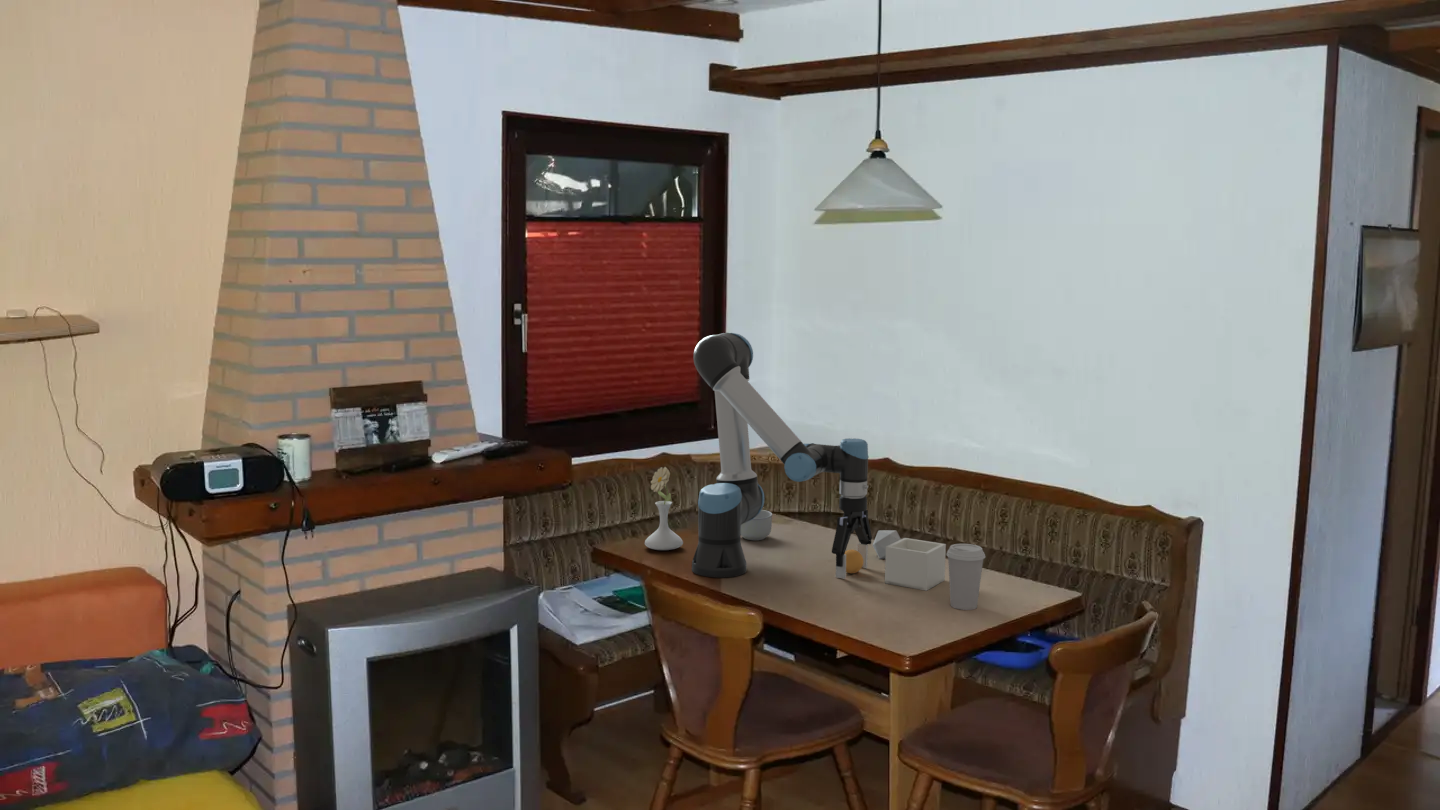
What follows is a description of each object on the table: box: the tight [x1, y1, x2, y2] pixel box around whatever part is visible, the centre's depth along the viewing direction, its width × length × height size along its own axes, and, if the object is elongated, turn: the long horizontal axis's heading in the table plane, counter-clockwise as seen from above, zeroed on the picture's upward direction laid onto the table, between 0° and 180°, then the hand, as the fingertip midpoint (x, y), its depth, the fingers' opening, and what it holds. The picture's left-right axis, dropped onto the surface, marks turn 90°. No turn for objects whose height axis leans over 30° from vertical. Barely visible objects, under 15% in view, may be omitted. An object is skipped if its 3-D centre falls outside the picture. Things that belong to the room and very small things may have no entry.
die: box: [872, 529, 902, 560], centre depth 339 cm, size 8×9×10 cm
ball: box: [845, 549, 863, 574], centre depth 322 cm, size 6×6×6 cm
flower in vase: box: [644, 466, 684, 551], centre depth 344 cm, size 13×11×25 cm
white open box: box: [884, 537, 947, 592], centre depth 314 cm, size 12×12×10 cm
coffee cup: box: [945, 543, 986, 611], centre depth 292 cm, size 10×10×15 cm
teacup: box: [741, 509, 773, 541], centre depth 361 cm, size 14×11×8 cm
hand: (851, 572), depth 322 cm, fingers open, 12 cm apart
